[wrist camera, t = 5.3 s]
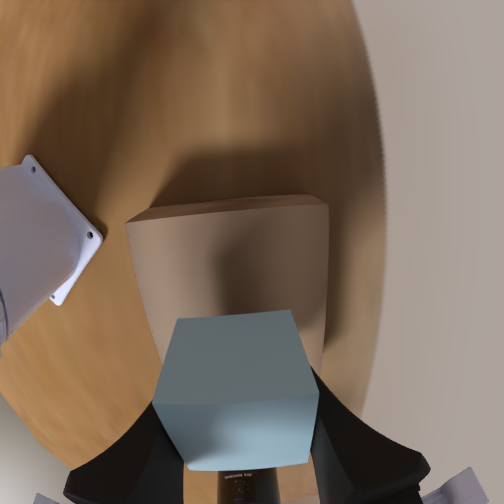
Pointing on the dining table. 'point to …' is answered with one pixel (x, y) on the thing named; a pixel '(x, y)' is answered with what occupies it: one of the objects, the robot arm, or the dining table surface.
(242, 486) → the supplement bottle
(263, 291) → the walnut block
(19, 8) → the dining table surface
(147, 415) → the robot arm
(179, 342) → the blue cube
